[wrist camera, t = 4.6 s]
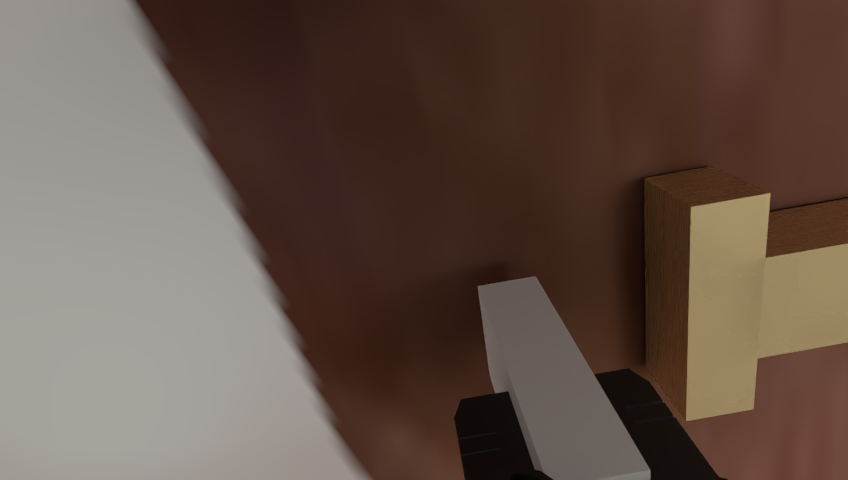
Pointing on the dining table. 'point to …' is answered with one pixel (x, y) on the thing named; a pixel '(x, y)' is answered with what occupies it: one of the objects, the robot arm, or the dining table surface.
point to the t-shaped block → (735, 285)
